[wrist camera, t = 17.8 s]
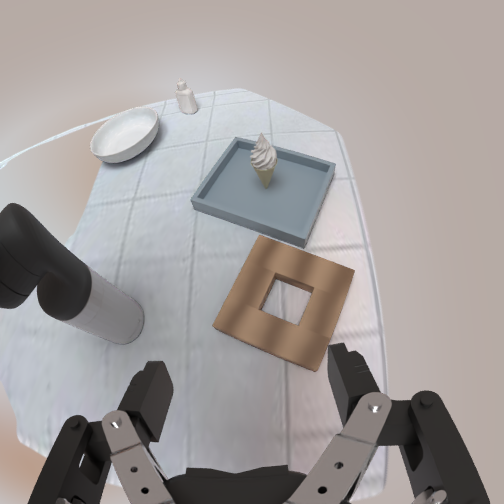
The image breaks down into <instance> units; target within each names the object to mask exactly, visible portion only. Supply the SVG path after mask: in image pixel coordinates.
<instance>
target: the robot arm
mask: <svg viewBox="0 0 504 504" xmlns="http://www.w3.org/2000/svg"><path fill="white" fill-rule="evenodd" d="M36 286H37V297H38V301H39V304H40V306H41V308H42V309H43V311H44V312H45V313H46V314H48V315H49V316H51V317H53V318H55V319H58V320H60V321H62V322H64V323H67V324H69V325H72V326H74V327H76V328H79V329H81V330H83V331H86V332H88V333H91V334H93V335H96V336H98V337H101V338H104V339H106V340H109V341H112V342H114V343H117V344H127V343H130V342H132V341H133V340H135V339H136V338H137V337H138V335H139V334H140V332H141V330H142V328H143V323H144V316H143V311H142V309H141V307H140V305H139V304H138V303H137V302H136V301H135V300H133V299H132V298H130V297H129V296H127V295H126V294H125V293H123V292H122V291H121V290H119V289H118V288H116V287H115V286H114V285H112V284H111V283H110V282H108V281H107V280H106V279H104V278H103V277H102V276H100V275H99V274H98V273H96V272H95V271H94V270H92V269H91V268H90V267H88V266H87V265H86V264H85V263H83V262H82V261H81V260H80V259H78V258H77V257H76V256H75V255H74V254H73V253H71V252H70V251H69V250H68V249H67V248H66V247H64V246H63V245H62V244H61V243H60V242H59V241H58V240H57V239H56V238H55V237H54V236H53V235H51V233H50V232H49V231H48V230H47V229H46V228H45V227H44V226H43V225H42V224H41V223H40V222H39V221H38V220H37V219H36V218H35V217H34V216H33V215H32V214H31V213H30V212H29V211H28V210H27V209H25V208H24V207H22V206H21V205H19V204H16V203H10V204H8V205H7V206H6V207H5V208H4V209H3V210H2V211H1V213H0V308H6V309H13V308H16V307H18V306H20V305H21V304H22V303H23V302H24V301H25V300H26V299H27V298H28V296H29V295H30V294H31V292H32V291H33V290H34V288H35V287H36ZM328 378H329V382H330V385H331V388H332V392H333V395H334V398H335V401H336V405H337V408H338V411H339V415H340V418H341V422H342V425H343V430H342V432H341V433H340V434H336V435H335V437H334V438H333V439H332V441H331V442H330V444H329V445H328V447H327V448H326V450H325V451H324V453H323V454H322V456H321V457H320V459H319V460H318V462H317V463H316V464H315V466H314V467H313V469H312V470H311V471H310V473H309V474H308V475H306V474H303V473H300V472H295V471H288V465H282V466H271V467H261V468H257V469H254V470H250V471H246V472H241V473H237V474H234V473H228V472H223V471H219V470H214V469H207V468H187V469H186V474H182V475H178V476H175V477H172V478H170V479H168V477H167V476H166V475H165V473H164V472H163V470H162V468H161V467H160V465H159V463H158V462H157V460H156V458H155V456H154V455H153V453H152V451H151V449H150V448H149V443H150V442H159V439H160V435H161V432H162V429H163V425H164V422H165V419H166V415H167V412H168V409H169V406H170V402H171V399H172V396H173V383H172V381H171V378H170V376H169V373H168V371H167V368H166V366H165V363H164V362H163V361H148V362H147V364H146V366H145V368H144V370H143V371H139V372H138V373H137V374H136V375H135V376H134V377H133V378H132V380H131V382H130V385H129V386H128V388H127V391H126V392H125V394H124V397H123V399H122V401H121V403H120V405H119V407H118V409H117V410H116V411H112V412H109V413H108V414H107V415H105V416H104V418H103V420H102V421H97V422H88V421H87V420H86V418H85V417H83V416H81V415H75V416H72V417H70V418H69V419H67V420H66V422H65V423H64V425H63V427H62V429H61V431H60V433H59V435H58V437H57V439H56V441H55V443H54V445H53V447H52V449H51V451H50V453H49V455H48V458H47V460H46V462H45V464H44V466H43V468H42V471H41V473H40V475H39V477H38V480H37V482H36V485H35V487H34V489H33V492H32V494H31V496H30V499H29V502H28V504H100V500H101V496H102V493H103V489H104V486H105V483H106V479H107V476H108V473H109V469H110V466H111V463H113V466H114V468H115V471H116V473H117V475H118V478H119V480H120V482H121V484H122V487H123V489H124V491H125V493H126V495H127V497H128V499H129V501H130V503H131V504H351V503H349V501H350V499H351V498H352V496H353V494H354V493H355V491H356V489H357V488H358V486H359V484H360V482H361V480H362V478H363V476H364V474H365V472H366V470H367V468H368V466H369V464H370V462H371V461H372V459H373V457H374V455H375V453H376V450H377V448H378V446H392V445H398V446H399V448H400V452H401V455H402V458H403V461H404V464H405V467H406V470H407V474H408V477H409V480H410V483H411V487H412V490H413V494H414V497H415V500H414V501H413V502H412V503H411V504H490V501H489V498H488V496H487V493H486V490H485V488H484V486H483V483H482V481H481V479H480V476H479V474H478V471H477V469H476V467H475V465H474V463H473V460H472V458H471V456H470V454H469V452H468V450H467V448H466V446H465V444H464V442H463V440H462V438H461V435H460V433H459V432H458V430H457V428H456V426H455V424H454V422H453V420H452V418H451V416H450V414H449V412H448V411H447V409H446V407H445V405H444V403H443V401H442V400H441V398H440V397H439V395H438V394H436V393H435V392H432V391H420V392H418V393H416V394H415V395H414V396H413V397H412V399H411V400H403V401H396V400H391V399H390V398H389V397H388V396H387V395H385V394H383V393H381V392H380V390H379V388H378V386H377V384H376V382H375V380H374V378H373V376H372V374H371V372H370V370H369V368H368V366H367V364H366V362H365V360H364V358H363V356H362V355H361V354H359V353H358V352H357V351H351V352H348V350H347V348H346V346H345V344H344V343H338V344H333V345H328ZM83 454H84V455H85V456H84V458H83V461H82V463H81V466H80V468H79V464H80V461H81V458H82V456H83Z"/></svg>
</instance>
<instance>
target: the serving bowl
mask: <svg viewBox="0 0 504 504" xmlns="http://www.w3.org/2000/svg"><path fill="white" fill-rule="evenodd" d="M158 127H159V119H158V114H157V112H156V111H155V110H154V109H153V108H150V107H136V108H132V109H128V110H126V111H123V112H121V113H119V114H117V115H116V116H114V117H112V118H111V119H110V120H108V121H107V122H106V123H105V124H103V125H102V126H101V127H100V128H99V129H98V131H97V132H96V133H95V135H94V136H93V138H92V140H91V144H90V149H91V151H92V153H93V154H94V155H95V156H96V157H97V158H98V159H100V160H101V161H104V162H108V163H118V162H123V161H126V160H128V159H131V158H133V157H135V156H136V155H138V154H140V153H141V152H142V151H144V150H145V149H146V148H147V147H148V146H149V145H150V144H151V142H152V141H153V140H154V138H155V136H156V134H157V131H158Z"/></svg>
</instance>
